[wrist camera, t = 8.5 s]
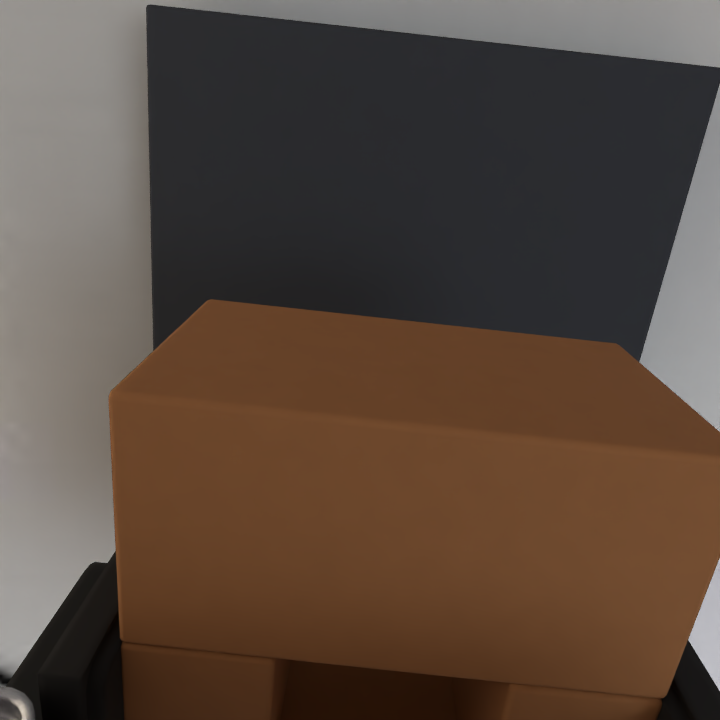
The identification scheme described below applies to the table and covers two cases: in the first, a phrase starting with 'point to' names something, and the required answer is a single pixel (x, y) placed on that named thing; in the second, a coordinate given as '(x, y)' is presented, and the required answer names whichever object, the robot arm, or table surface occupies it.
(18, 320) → the table surface
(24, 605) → the table surface
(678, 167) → the charcoal back pad
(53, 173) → the table surface
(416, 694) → the brown block with hole
